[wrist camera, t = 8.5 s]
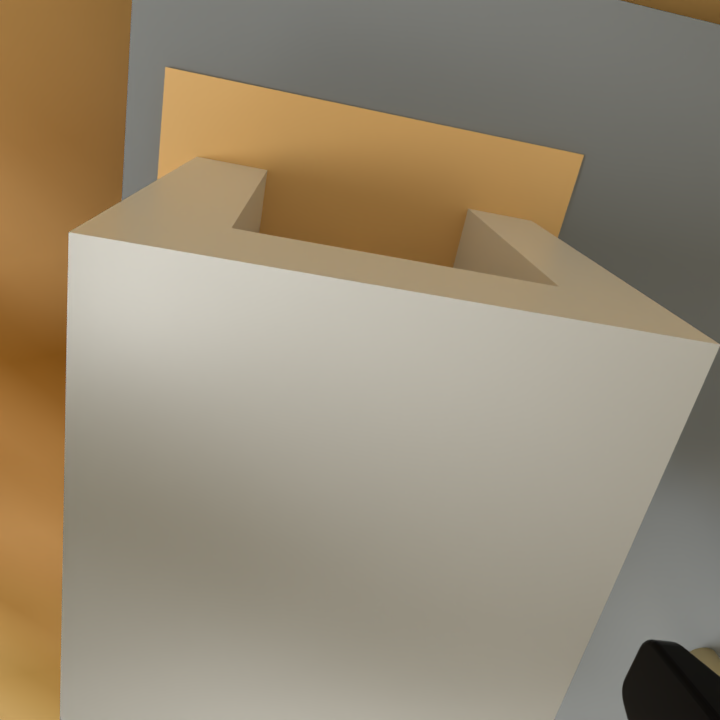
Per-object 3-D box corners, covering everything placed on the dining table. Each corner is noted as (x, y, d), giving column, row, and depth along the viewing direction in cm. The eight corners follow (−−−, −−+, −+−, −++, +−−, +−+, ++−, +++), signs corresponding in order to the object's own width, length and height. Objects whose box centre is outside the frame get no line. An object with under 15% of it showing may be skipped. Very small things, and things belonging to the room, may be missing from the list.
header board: (1124, 137, 11) (1465, 159, 8) (732, 766, 17) (828, 927, 14) (157, -97, 9) (61, -200, 6) (107, 714, 15) (48, 888, 12)
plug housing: (531, 220, 10) (720, 344, 5) (392, 689, 13) (429, 1002, 9) (196, 156, 9) (69, 232, 4) (149, 667, 13) (55, 991, 8)
